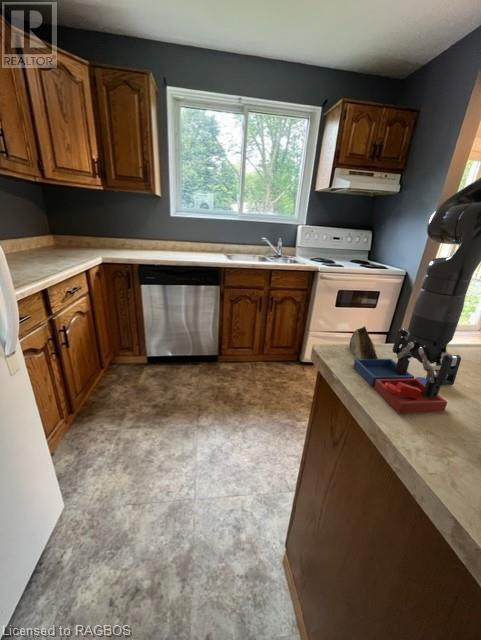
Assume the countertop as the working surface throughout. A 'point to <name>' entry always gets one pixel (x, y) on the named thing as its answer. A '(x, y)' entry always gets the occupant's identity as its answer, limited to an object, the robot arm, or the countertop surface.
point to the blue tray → (378, 370)
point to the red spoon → (403, 390)
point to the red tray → (406, 403)
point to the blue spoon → (425, 379)
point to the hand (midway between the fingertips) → (413, 385)
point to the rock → (362, 344)
